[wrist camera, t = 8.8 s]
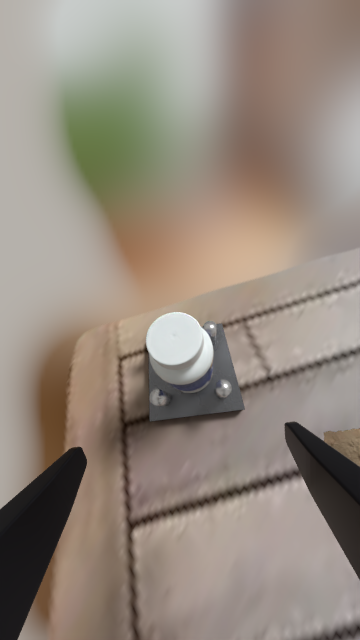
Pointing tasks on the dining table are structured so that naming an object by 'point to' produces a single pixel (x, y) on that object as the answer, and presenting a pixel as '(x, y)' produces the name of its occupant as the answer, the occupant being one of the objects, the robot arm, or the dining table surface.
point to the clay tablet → (345, 443)
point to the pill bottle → (180, 352)
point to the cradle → (210, 399)
